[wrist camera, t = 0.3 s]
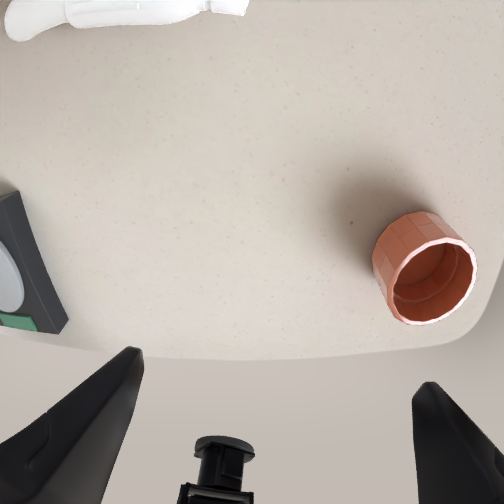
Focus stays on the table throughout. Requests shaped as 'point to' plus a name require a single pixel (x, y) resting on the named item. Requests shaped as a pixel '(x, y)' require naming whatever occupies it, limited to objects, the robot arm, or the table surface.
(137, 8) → the binoculars
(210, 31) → the table surface
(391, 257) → the pot
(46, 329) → the scale
